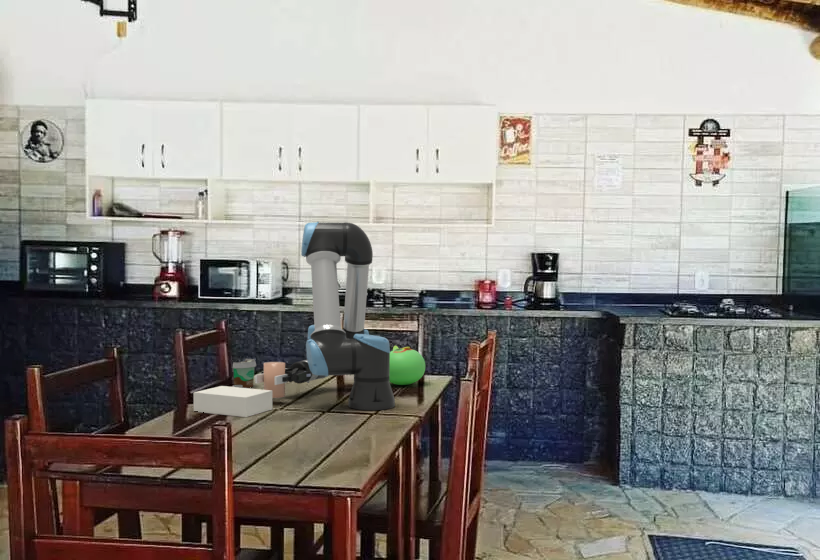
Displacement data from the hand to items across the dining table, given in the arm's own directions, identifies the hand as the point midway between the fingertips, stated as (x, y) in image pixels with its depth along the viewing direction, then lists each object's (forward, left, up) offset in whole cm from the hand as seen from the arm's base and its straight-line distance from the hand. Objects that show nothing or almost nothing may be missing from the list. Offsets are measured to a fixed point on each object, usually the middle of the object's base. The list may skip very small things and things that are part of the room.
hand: (265, 379), depth 269 cm
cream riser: (+5, +11, -8) cm, 15 cm away
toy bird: (-21, -59, -9) cm, 63 cm away
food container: (+27, -27, -9) cm, 39 cm away
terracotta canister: (0, -5, -6) cm, 8 cm away
